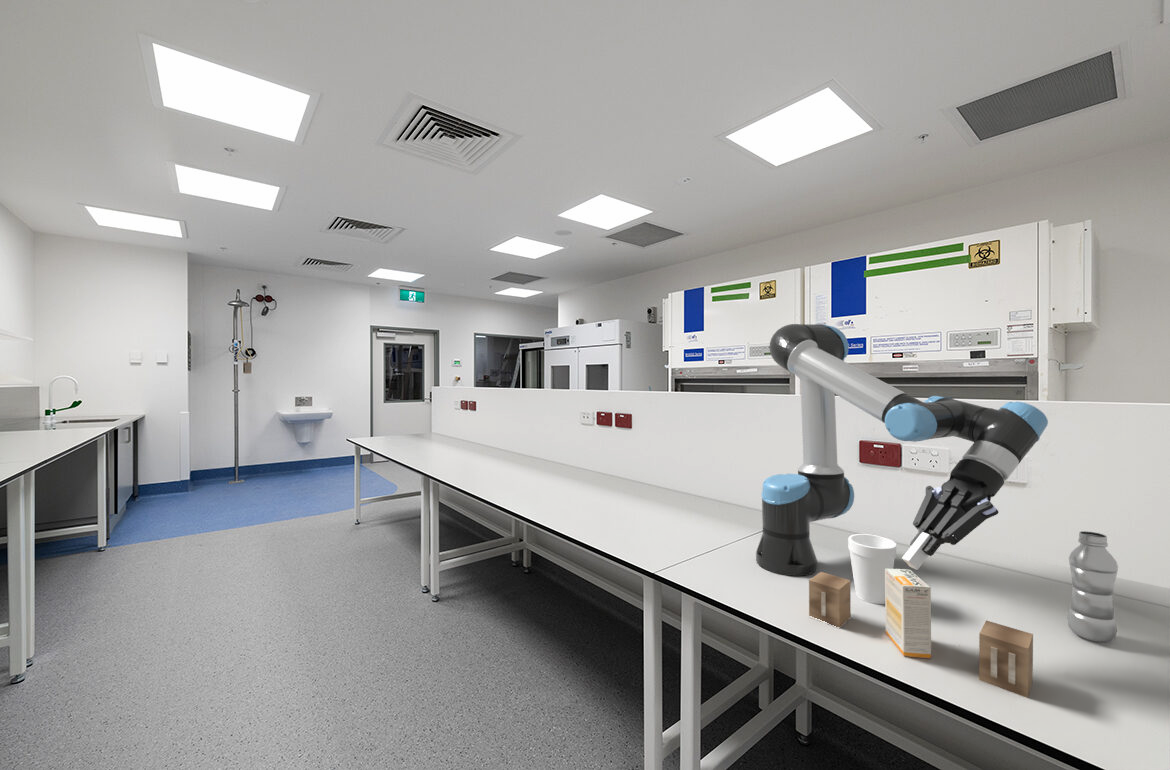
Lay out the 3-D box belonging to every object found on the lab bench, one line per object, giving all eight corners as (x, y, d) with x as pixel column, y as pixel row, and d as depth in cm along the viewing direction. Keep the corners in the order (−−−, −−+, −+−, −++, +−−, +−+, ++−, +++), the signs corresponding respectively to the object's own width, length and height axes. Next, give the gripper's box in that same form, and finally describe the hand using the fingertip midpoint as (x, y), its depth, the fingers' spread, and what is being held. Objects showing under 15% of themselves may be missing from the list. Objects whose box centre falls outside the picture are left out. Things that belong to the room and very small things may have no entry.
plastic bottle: (1057, 629, 94) (1058, 529, 93) (1088, 627, 94) (1089, 528, 94) (1094, 648, 87) (1096, 541, 87) (1127, 646, 88) (1129, 539, 87)
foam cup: (880, 611, 102) (879, 551, 102) (839, 593, 110) (839, 538, 110) (905, 600, 106) (905, 543, 106) (864, 584, 115) (864, 531, 114)
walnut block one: (808, 617, 100) (808, 580, 100) (821, 607, 104) (820, 571, 104) (838, 629, 96) (838, 589, 95) (850, 617, 100) (850, 580, 100)
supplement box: (933, 659, 85) (932, 587, 85) (903, 657, 86) (902, 585, 86) (911, 634, 93) (911, 568, 93) (884, 632, 94) (883, 567, 94)
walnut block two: (978, 681, 79) (979, 633, 79) (985, 665, 83) (986, 620, 83) (1027, 699, 75) (1028, 649, 74) (1032, 681, 79) (1033, 634, 79)
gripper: (1031, 491, 86) (954, 592, 83) (960, 475, 99) (892, 562, 96) (1008, 464, 85) (929, 565, 82) (939, 451, 97) (869, 539, 94)
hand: (909, 564), depth 89 cm, fingers closed
